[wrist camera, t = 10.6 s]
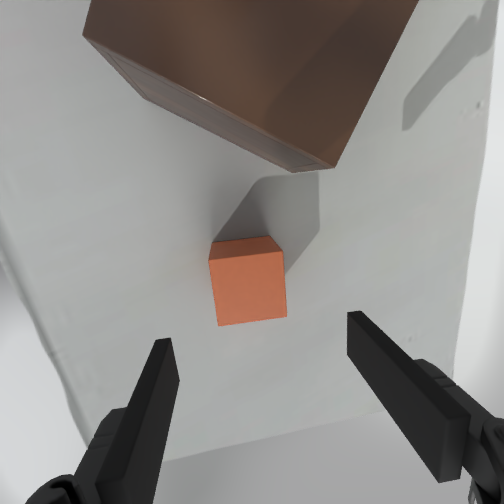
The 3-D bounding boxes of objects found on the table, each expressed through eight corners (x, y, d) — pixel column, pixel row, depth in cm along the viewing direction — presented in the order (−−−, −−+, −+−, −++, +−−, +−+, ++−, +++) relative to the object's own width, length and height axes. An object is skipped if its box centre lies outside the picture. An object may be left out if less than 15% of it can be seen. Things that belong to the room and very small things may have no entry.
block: (211, 242, 26) (208, 259, 20) (270, 235, 26) (283, 250, 21) (219, 296, 28) (218, 326, 22) (274, 289, 28) (287, 316, 22)
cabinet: (207, -104, 19) (192, -385, 10) (369, 9, 22) (479, -119, 13) (142, 97, 22) (81, 35, 13) (293, 173, 25) (334, 168, 16)
